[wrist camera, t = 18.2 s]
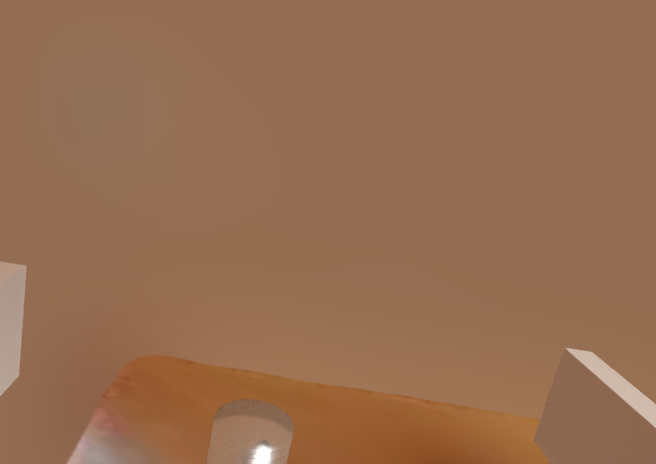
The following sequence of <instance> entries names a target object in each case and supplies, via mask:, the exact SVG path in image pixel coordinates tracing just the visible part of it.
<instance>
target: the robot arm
mask: <svg viewBox="0 0 656 464" xmlns="http://www.w3.org/2000/svg"><path fill="white" fill-rule="evenodd" d="M26 267H27V266H26V265H19V264H13V263H6V262H0V396H1V395H2V394H3V392H4V391H5V390H6V389H7V388H8V387H9V386H10V385H11V384H12V383H13V382H14V381H15V379H16V378H17V377H18V376H19V366H20V352H21V338H22V324H23V310H24V309H23V308H24V294H25V281H26ZM534 441H535V442H536V444H537V445H538V446H539V448H540V449H541V450H542V452H543V453H544V454H545V456H546V457H547V459H548V460H549V461H550V463H551V464H656V404H655V403H653V402H652V401H651V400H650V399H648V398H647V397H646V396H645V395H643V394H642V393H641V392H640V391H639V390H637V389H636V388H635V387H634V386H633V385H631V384H630V383H629V382H628V381H626V380H625V379H624V378H623V377H622V376H620V375H619V374H618V373H617V372H615V371H614V370H613V369H612V368H610V367H609V366H608V365H607V364H606V363H605V362H603V361H602V360H601V359H600V358H598V357H597V356H596V355H595V354H594V353H592V352H588V351H582V350H576V349H569V348H565V349H564V352H563V355H562V358H561V360H560V363H559V366H558V369H557V372H556V375H555V378H554V381H553V384H552V387H551V390H550V393H549V396H548V399H547V402H546V405H545V408H544V411H543V414H542V417H541V420H540V423H539V426H538V429H537V431H536V434H535V437H534Z"/></svg>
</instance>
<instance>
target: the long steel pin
mask: <svg viewBox="0 0 656 464" xmlns="http://www.w3.org/2000/svg"><path fill="white" fill-rule="evenodd" d="M293 432H294V424H293V421H292V419H291V418H290V416H289V415H288V414H287V413H286V412H285V411H283V410H282V409H281V408H279V407H277V406H275V405H273V404H270V403H267V402H264V401H259V400H251V399H245V400H236V401H232V402H229V403H227V404H225V405H223V406H222V407H221V408H219V409H218V411H217V412H216V414H215V416H214V421H213V427H212V432H211V438H210V444H209V449H208V455H207V461H206V464H287V460H288V455H289V451H290V446H291V442H292V437H293Z"/></svg>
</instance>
